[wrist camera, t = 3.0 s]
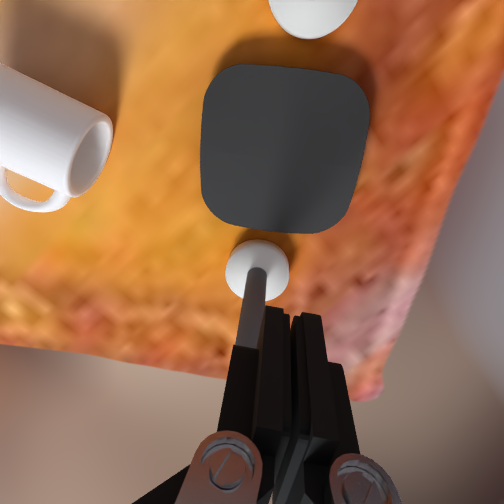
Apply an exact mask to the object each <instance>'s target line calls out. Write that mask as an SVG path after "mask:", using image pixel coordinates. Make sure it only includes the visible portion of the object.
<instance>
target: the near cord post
mask: <svg viewBox="0 0 504 504" xmlns="http://www.w3.org/2000/svg"><path fill="white" fill-rule="evenodd" d="M357 1H358V0H269V4H270V8H271V11H272V14H273V16H274V18H275V19H276V21H277V22H278V24H279V25H280V26H281V27H282V29H284V30H285V31H286V32H287V33H289V34H290V35H292V36H294V37H297V38H300V39H307V40H308V39H317V38H320V37H323V36H325V35H327V34H329V33H331V32H332V31H334V30H335V29H336V28H338V27H339V26H340V25H341V24H342V23H343V22H344V21H345V20H346V19H347V18H348V16H349V15H350V14H351V12H352V11H353V9H354V7H355V5H356V3H357Z"/></svg>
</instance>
